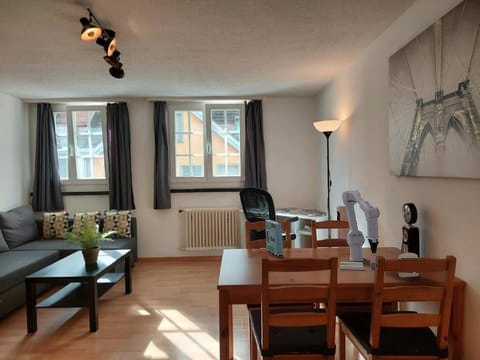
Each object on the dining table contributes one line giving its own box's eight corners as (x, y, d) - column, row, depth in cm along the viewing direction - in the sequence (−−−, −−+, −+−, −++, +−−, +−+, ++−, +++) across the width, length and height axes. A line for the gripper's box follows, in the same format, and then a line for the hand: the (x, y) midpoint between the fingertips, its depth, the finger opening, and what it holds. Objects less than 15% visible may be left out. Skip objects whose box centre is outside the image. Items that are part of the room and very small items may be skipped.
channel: (340, 265, 204) (339, 261, 204) (362, 265, 200) (362, 262, 200) (339, 269, 196) (339, 265, 196) (363, 270, 192) (363, 266, 192)
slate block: (370, 267, 197) (370, 260, 197) (377, 267, 196) (377, 260, 196) (371, 269, 193) (370, 262, 193) (378, 269, 192) (378, 262, 192)
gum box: (283, 256, 231) (281, 223, 231) (276, 257, 230) (275, 223, 229) (272, 250, 250) (271, 219, 249) (266, 250, 248) (264, 220, 248)
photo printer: (401, 278, 176) (400, 254, 175) (397, 275, 180) (396, 252, 180) (420, 276, 177) (419, 253, 176) (415, 274, 181) (414, 251, 181)
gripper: (364, 226, 202) (365, 249, 202) (366, 231, 188) (367, 255, 188) (377, 226, 200) (377, 249, 200) (379, 231, 186) (380, 255, 186)
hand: (373, 252), depth 194 cm, fingers open, 4 cm apart
